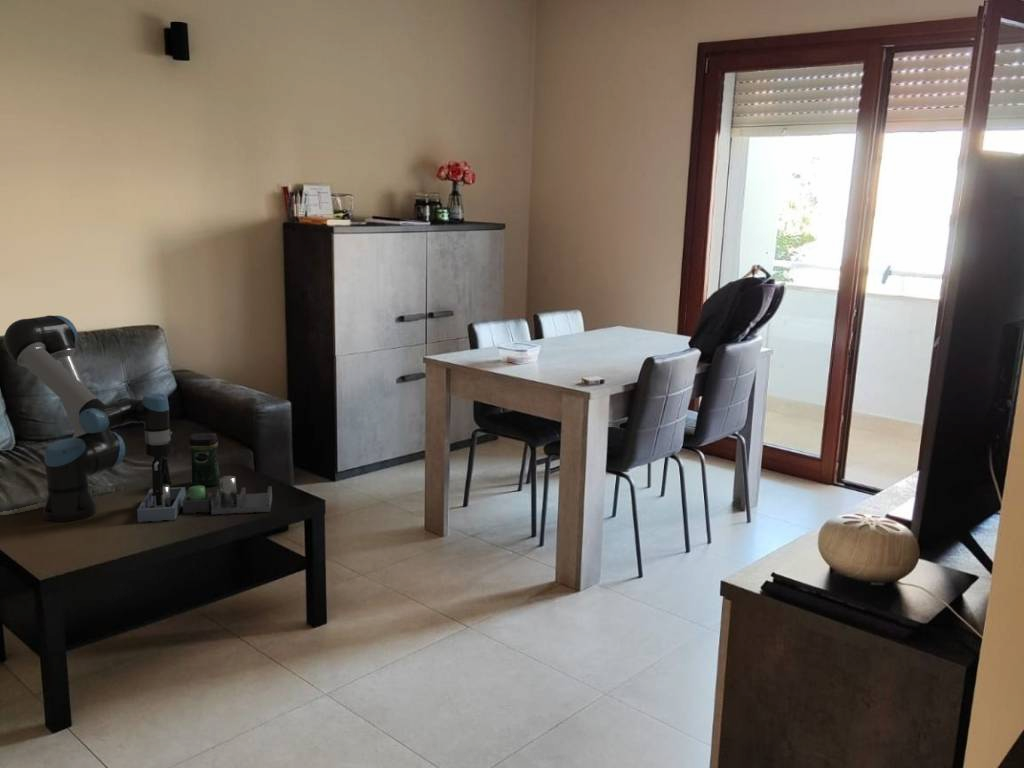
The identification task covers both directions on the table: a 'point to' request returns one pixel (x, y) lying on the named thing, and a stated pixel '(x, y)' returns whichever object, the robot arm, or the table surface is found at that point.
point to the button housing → (197, 504)
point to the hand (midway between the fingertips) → (163, 509)
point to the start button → (197, 493)
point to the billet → (166, 495)
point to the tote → (161, 513)
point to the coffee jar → (204, 459)
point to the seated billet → (228, 489)
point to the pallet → (242, 503)
